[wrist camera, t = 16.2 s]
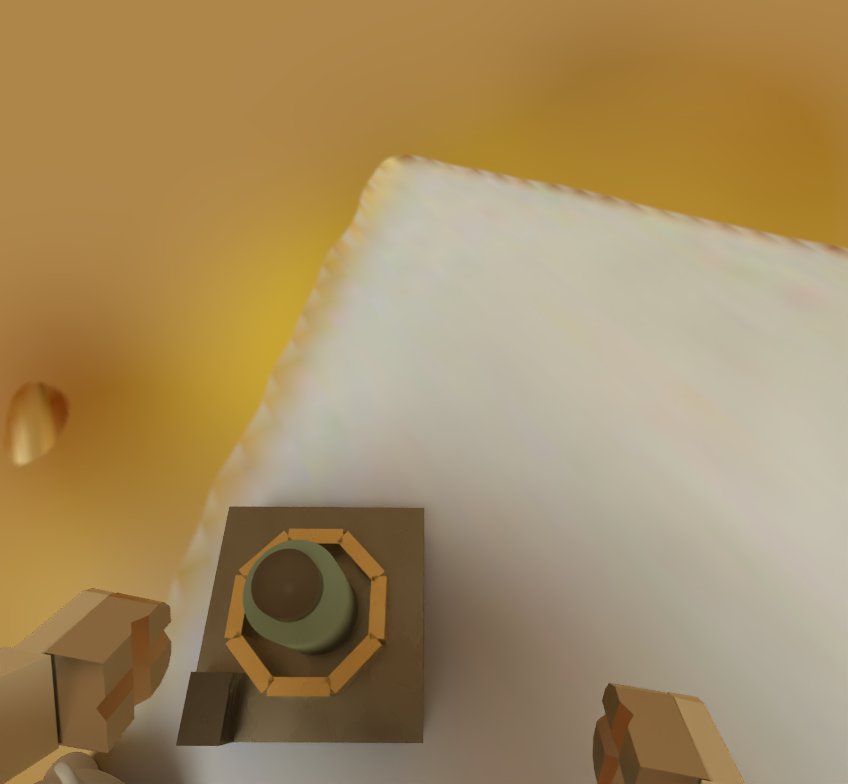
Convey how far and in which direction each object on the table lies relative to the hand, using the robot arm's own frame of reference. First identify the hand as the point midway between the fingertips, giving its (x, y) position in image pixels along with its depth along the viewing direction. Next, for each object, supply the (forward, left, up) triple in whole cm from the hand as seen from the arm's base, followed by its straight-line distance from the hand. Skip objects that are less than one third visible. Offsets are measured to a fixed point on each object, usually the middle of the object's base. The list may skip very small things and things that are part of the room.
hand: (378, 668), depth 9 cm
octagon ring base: (+3, +5, -26) cm, 27 cm away
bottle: (+3, +5, -20) cm, 21 cm away
